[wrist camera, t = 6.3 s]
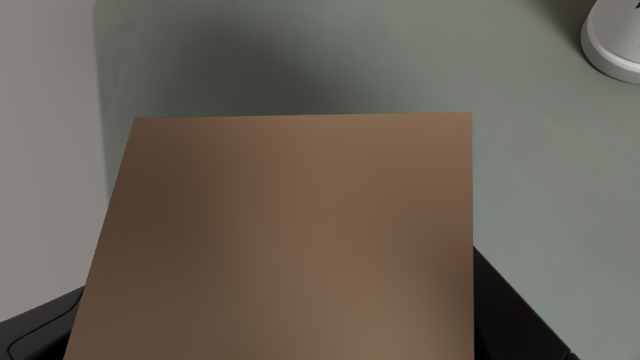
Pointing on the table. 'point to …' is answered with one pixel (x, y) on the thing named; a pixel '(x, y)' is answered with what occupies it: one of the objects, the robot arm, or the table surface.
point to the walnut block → (286, 241)
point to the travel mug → (614, 38)
